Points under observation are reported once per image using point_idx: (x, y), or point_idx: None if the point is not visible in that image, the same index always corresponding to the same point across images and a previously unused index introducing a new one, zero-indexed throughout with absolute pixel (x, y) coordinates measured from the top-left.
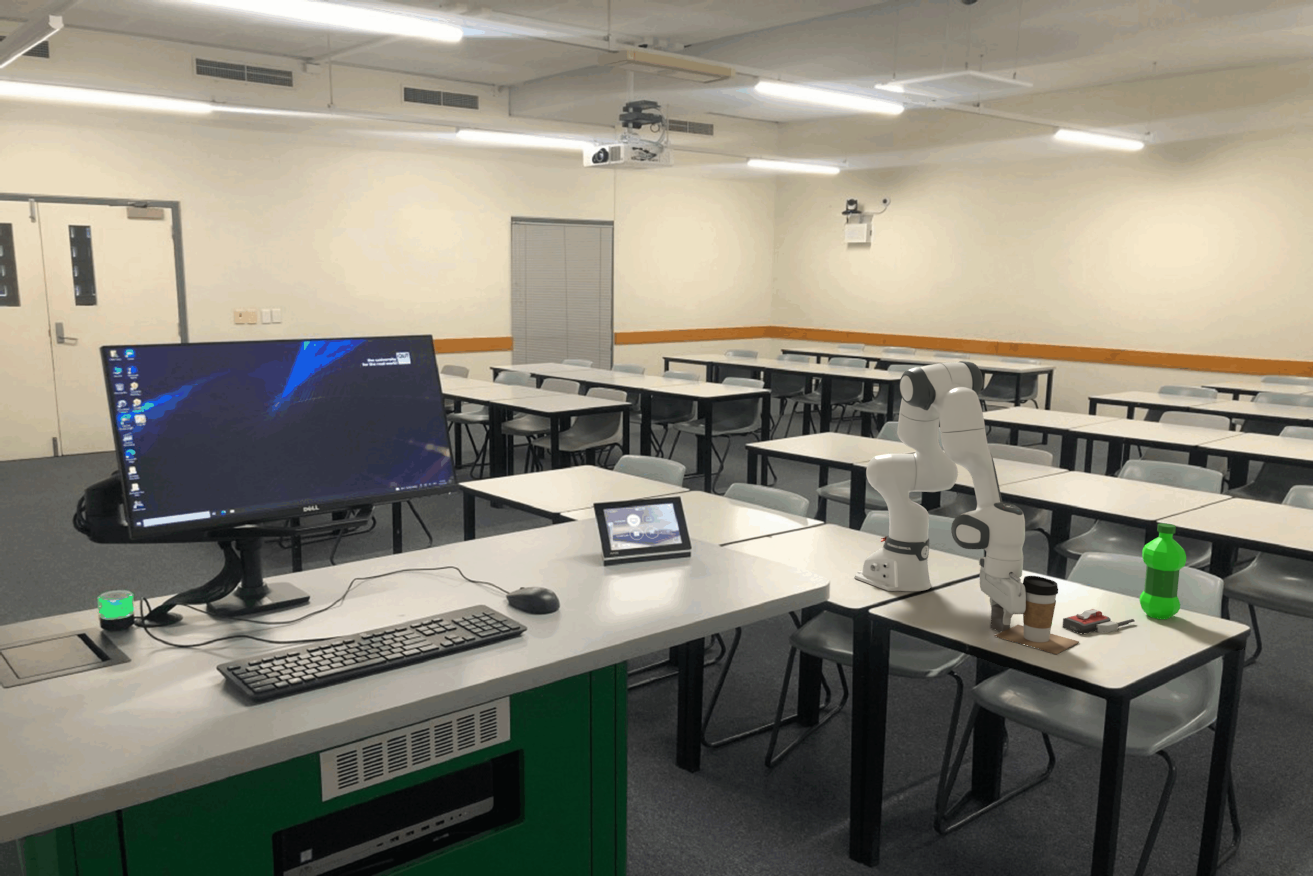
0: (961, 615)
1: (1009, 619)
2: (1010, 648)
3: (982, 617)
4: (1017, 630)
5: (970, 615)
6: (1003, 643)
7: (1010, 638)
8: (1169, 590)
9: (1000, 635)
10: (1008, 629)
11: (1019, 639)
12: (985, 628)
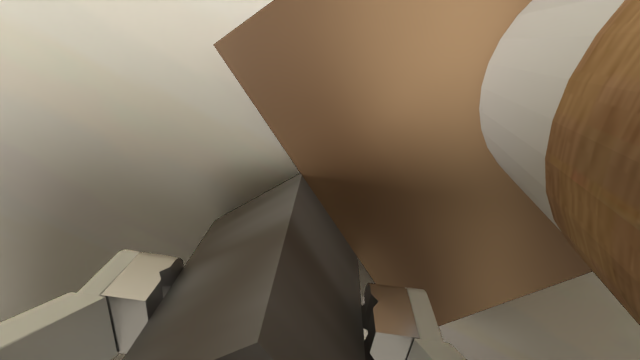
0: (19, 313)
1: (435, 338)
2: (614, 339)
3: (31, 217)
4: (366, 144)
5: (5, 268)
6: (525, 333)
7: (503, 283)
8: None
9: None
10: (328, 200)
11: (549, 238)
12: None
